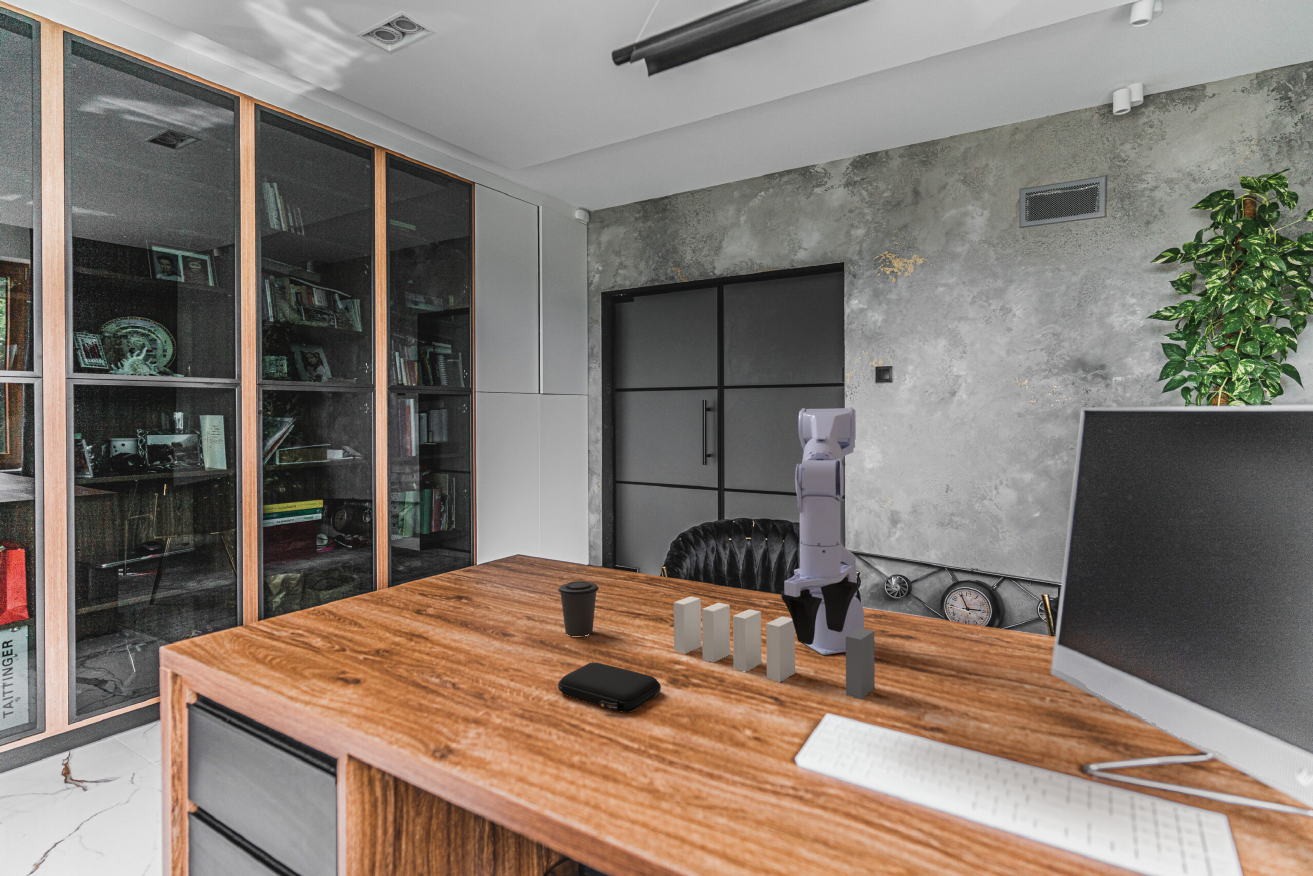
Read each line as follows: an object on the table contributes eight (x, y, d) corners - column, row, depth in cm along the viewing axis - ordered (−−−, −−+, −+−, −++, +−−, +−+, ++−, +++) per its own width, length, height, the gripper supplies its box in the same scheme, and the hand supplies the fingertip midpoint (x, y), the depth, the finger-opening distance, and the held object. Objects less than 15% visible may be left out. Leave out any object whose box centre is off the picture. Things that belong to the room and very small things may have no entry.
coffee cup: (550, 637, 123) (550, 586, 123) (571, 624, 131) (570, 576, 130) (587, 642, 120) (586, 590, 120) (606, 629, 128) (605, 580, 127)
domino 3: (761, 663, 108) (760, 611, 108) (745, 672, 104) (744, 618, 104) (749, 660, 110) (749, 609, 110) (733, 668, 106) (732, 616, 106)
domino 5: (874, 688, 97) (874, 631, 97) (861, 699, 94) (860, 639, 94) (859, 684, 99) (859, 628, 99) (846, 695, 95) (845, 636, 95)
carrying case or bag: (547, 699, 96) (625, 723, 88) (547, 679, 96) (625, 701, 88) (591, 675, 105) (665, 695, 97) (590, 657, 105) (665, 675, 97)
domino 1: (701, 646, 117) (700, 598, 117) (684, 654, 113) (683, 604, 113) (691, 643, 118) (690, 596, 118) (674, 651, 115) (673, 602, 114)
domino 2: (730, 654, 113) (729, 604, 112) (713, 663, 109) (713, 611, 109) (719, 651, 114) (718, 602, 114) (702, 659, 110) (702, 608, 110)
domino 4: (795, 673, 104) (794, 619, 104) (779, 682, 100) (779, 626, 100) (782, 669, 106) (781, 616, 105) (766, 678, 102) (766, 623, 102)
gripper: (824, 533, 98) (824, 619, 99) (766, 546, 89) (767, 641, 89) (865, 539, 93) (865, 629, 93) (808, 553, 83) (809, 654, 84)
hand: (820, 636), depth 91 cm, fingers open, 7 cm apart
